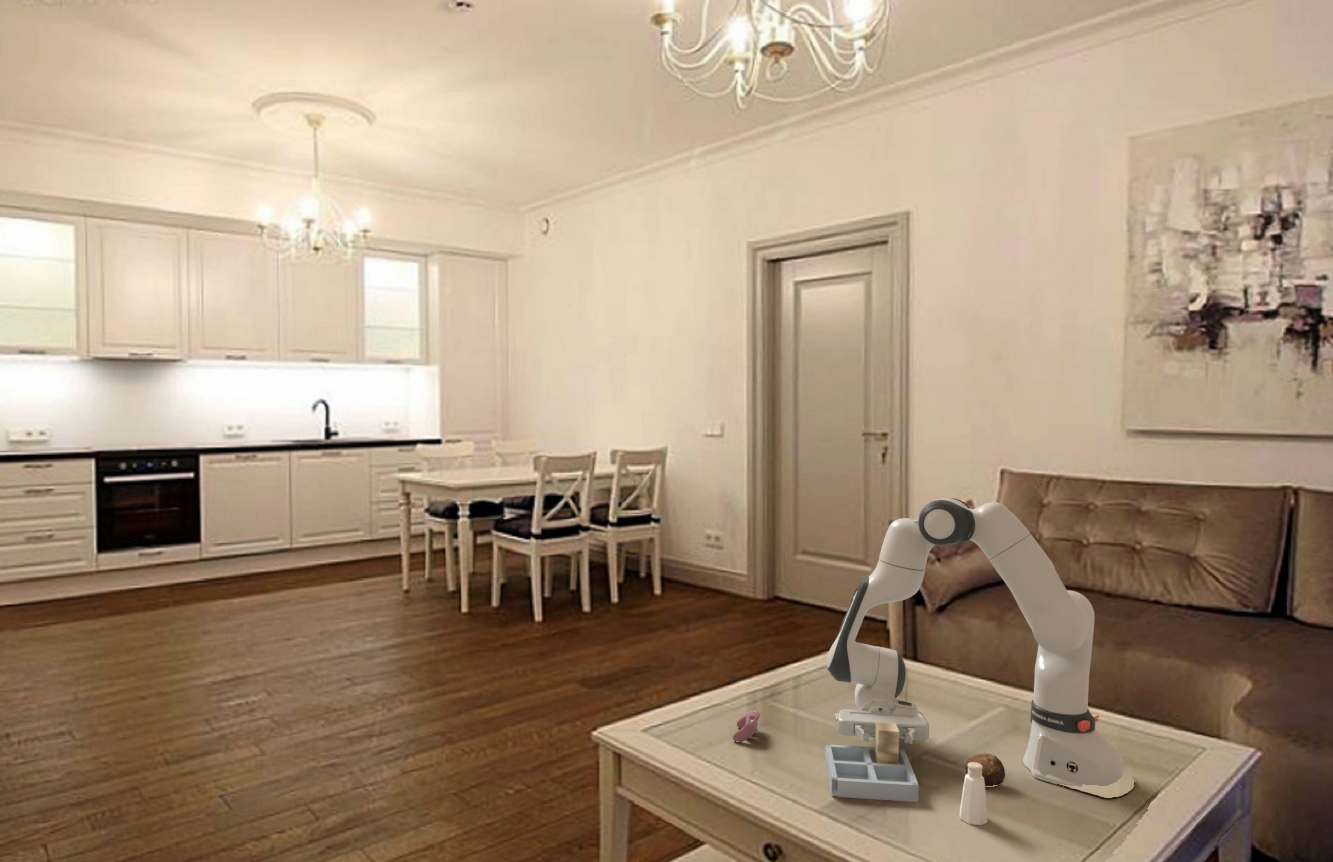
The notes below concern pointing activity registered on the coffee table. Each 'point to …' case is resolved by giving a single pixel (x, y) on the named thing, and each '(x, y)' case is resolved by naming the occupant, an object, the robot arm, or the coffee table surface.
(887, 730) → the birch block
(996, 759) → the mushroom
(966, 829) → the coffee table surface
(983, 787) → the pepper shaker
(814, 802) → the coffee table surface
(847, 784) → the divided tray
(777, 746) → the coffee table surface
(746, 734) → the video game controller
